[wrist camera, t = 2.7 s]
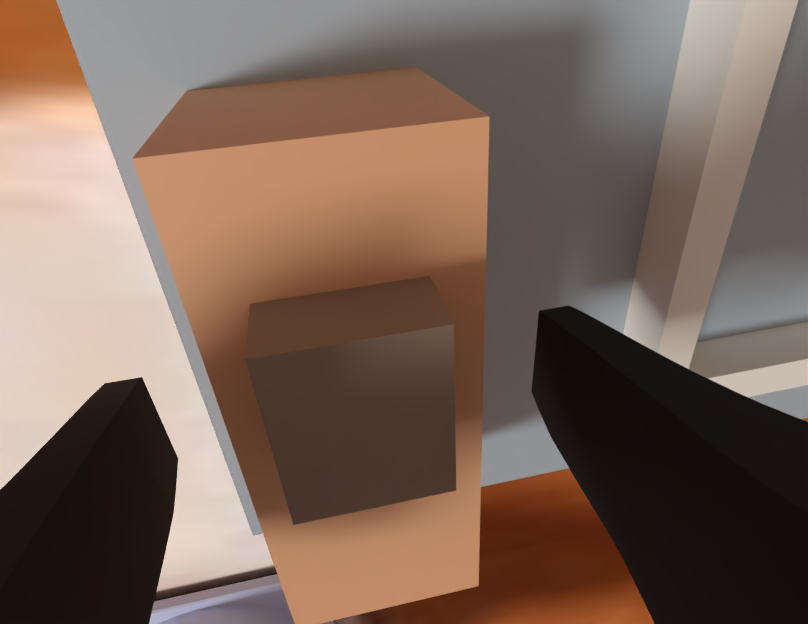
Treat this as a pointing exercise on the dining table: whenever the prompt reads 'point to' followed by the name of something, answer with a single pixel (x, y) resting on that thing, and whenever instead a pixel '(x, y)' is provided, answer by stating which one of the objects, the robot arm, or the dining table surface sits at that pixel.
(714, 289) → the jig
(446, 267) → the wooden block
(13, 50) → the dining table surface
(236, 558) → the dining table surface
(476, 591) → the dining table surface
